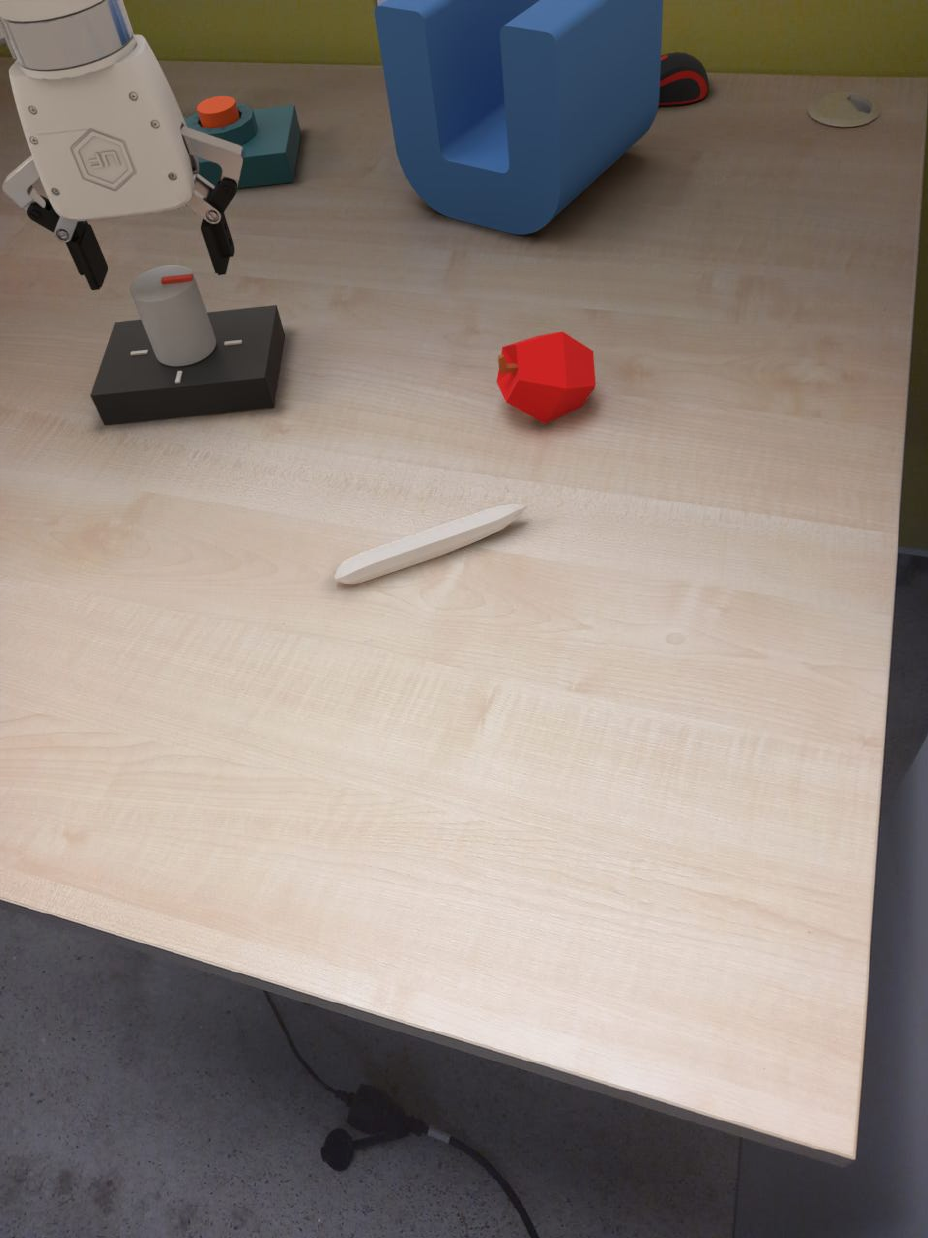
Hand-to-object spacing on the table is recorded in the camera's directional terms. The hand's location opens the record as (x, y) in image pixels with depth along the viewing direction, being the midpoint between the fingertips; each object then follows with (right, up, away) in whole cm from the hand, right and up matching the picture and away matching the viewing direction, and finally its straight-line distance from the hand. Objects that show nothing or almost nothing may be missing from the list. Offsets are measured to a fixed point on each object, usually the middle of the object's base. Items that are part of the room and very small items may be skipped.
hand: (162, 272), depth 78 cm
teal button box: (-2, +22, +32) cm, 39 cm away
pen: (+21, -22, -8) cm, 31 cm away
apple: (+30, -10, +1) cm, 31 cm away
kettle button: (-2, +25, +28) cm, 38 cm away
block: (+30, +17, +23) cm, 41 cm away
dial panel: (+1, -6, +8) cm, 10 cm away
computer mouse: (+44, +30, +32) cm, 62 cm away
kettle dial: (0, -4, +5) cm, 7 cm away
